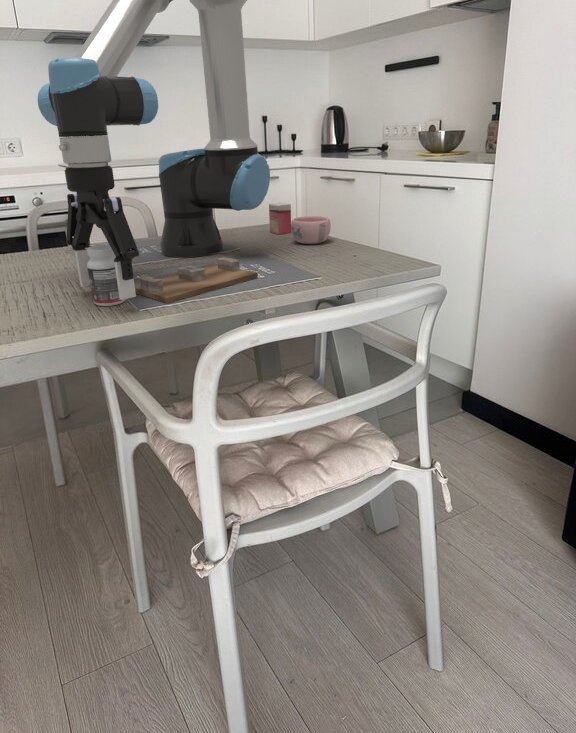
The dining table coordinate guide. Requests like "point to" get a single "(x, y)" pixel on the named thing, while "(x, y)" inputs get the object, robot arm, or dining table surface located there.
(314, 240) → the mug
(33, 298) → the dining table surface
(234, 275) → the board
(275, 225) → the small box
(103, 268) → the pill bottle
